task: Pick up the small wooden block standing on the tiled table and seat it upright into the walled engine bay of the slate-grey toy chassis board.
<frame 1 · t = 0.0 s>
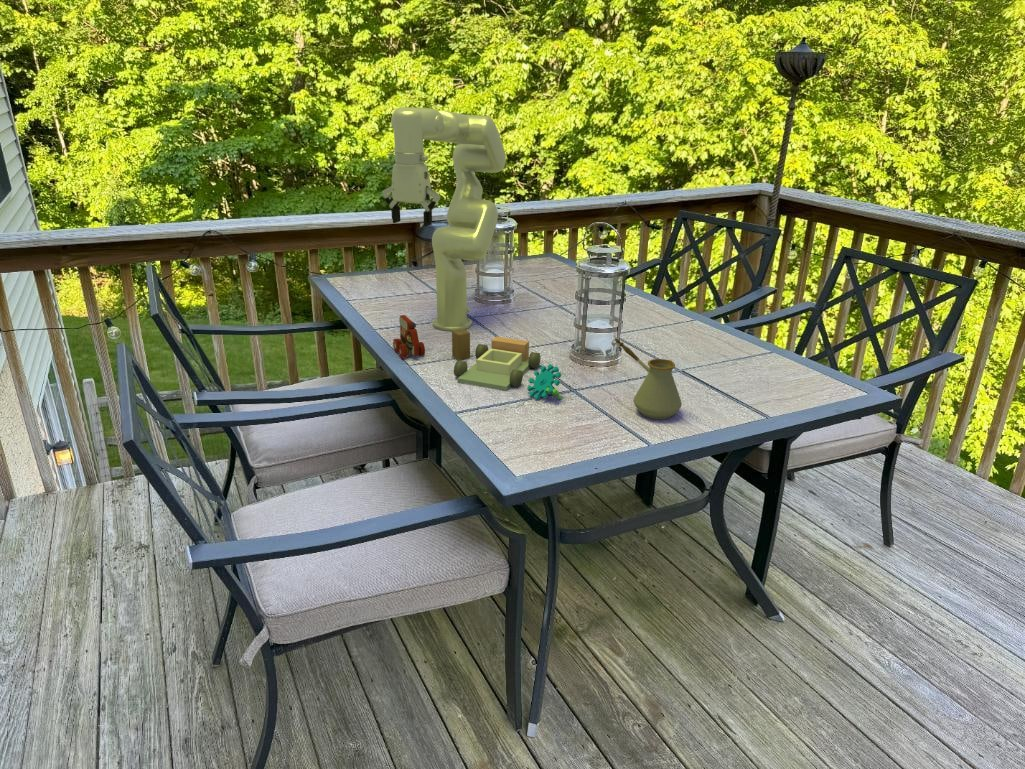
hand: (412, 223, 202), 37 cm above the table, tool pointing down, fingers open, 9 cm apart
wooden block: (461, 358, 211), on the table
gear: (544, 396, 187), on the table
toy fire truck: (409, 354, 213), on the table
chassis: (498, 372, 201), on the table
coffee pot: (641, 406, 182), on the table
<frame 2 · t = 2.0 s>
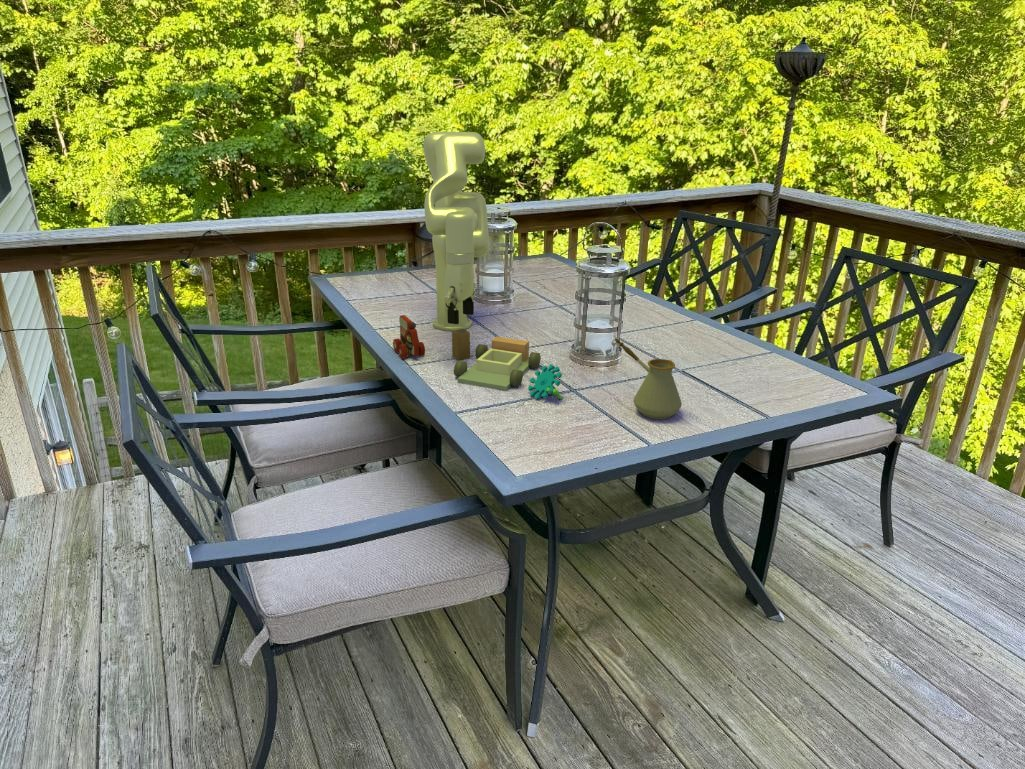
hand: (460, 319, 205), 12 cm above the table, tool pointing down, fingers open, 9 cm apart
nothing on the table moved.
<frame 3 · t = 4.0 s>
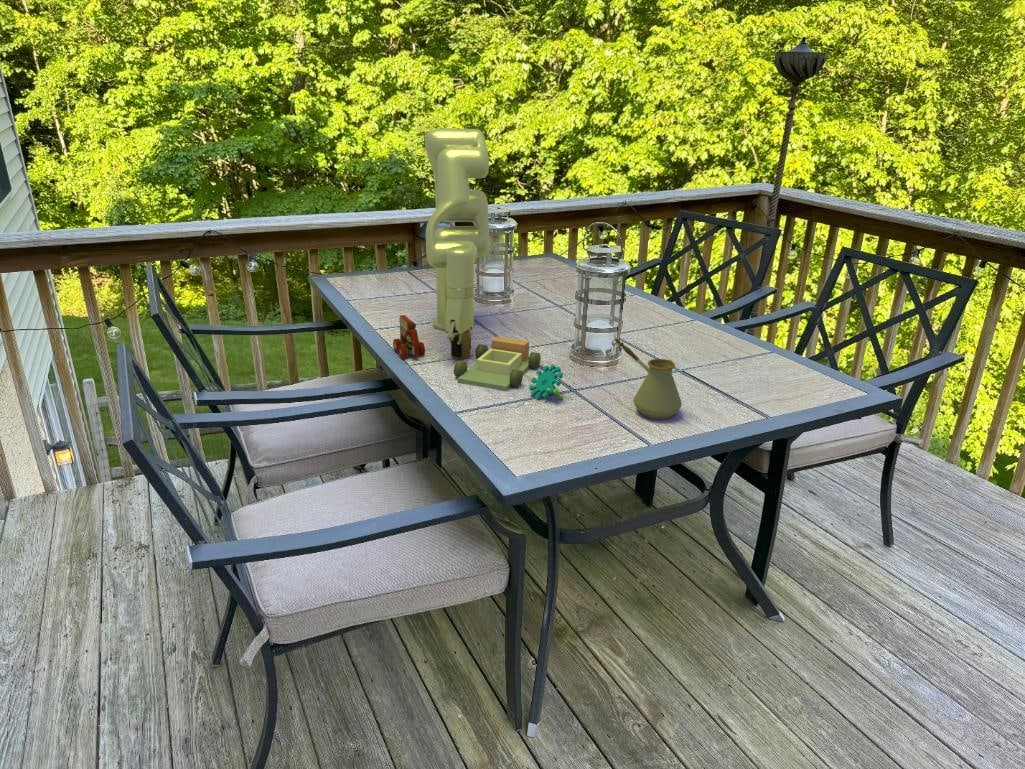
hand: (461, 352, 210), 1 cm above the table, tool pointing down, fingers closed on wooden block, 5 cm apart
wooden block: (461, 358, 211), on the table, touching gripper
everything else where it was.
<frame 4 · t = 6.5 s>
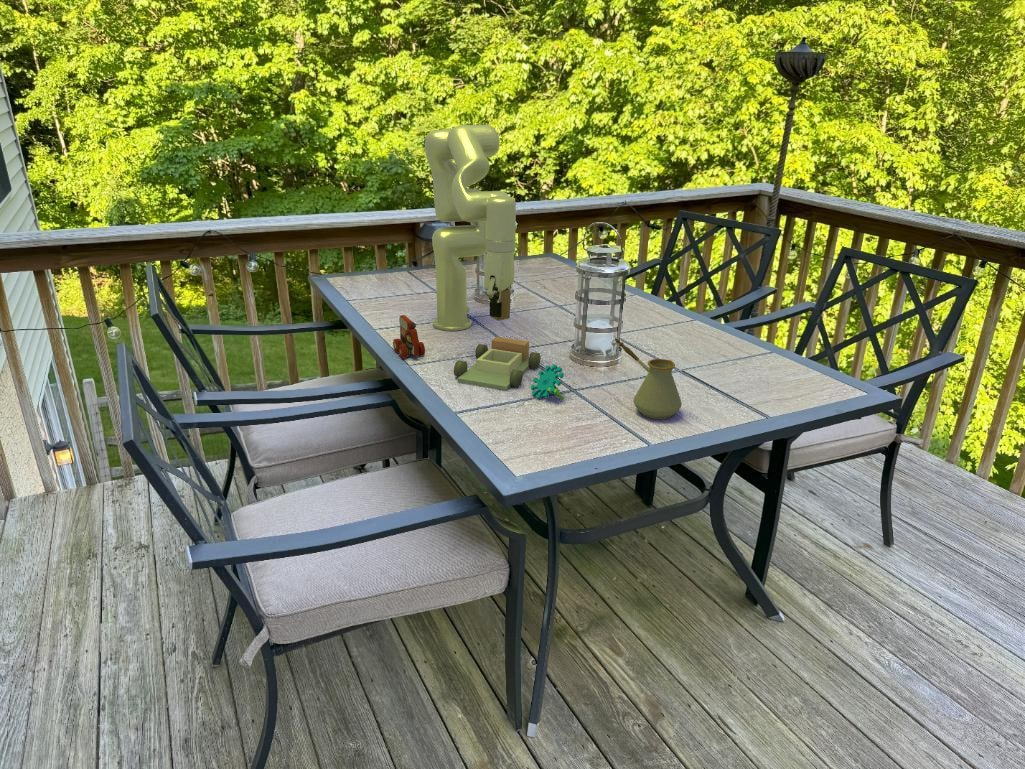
hand: (499, 312, 195), 17 cm above the table, tool pointing down, fingers closed on wooden block, 5 cm apart
wooden block: (499, 318, 196), point 15 cm above the table, touching gripper
everything else where it was.
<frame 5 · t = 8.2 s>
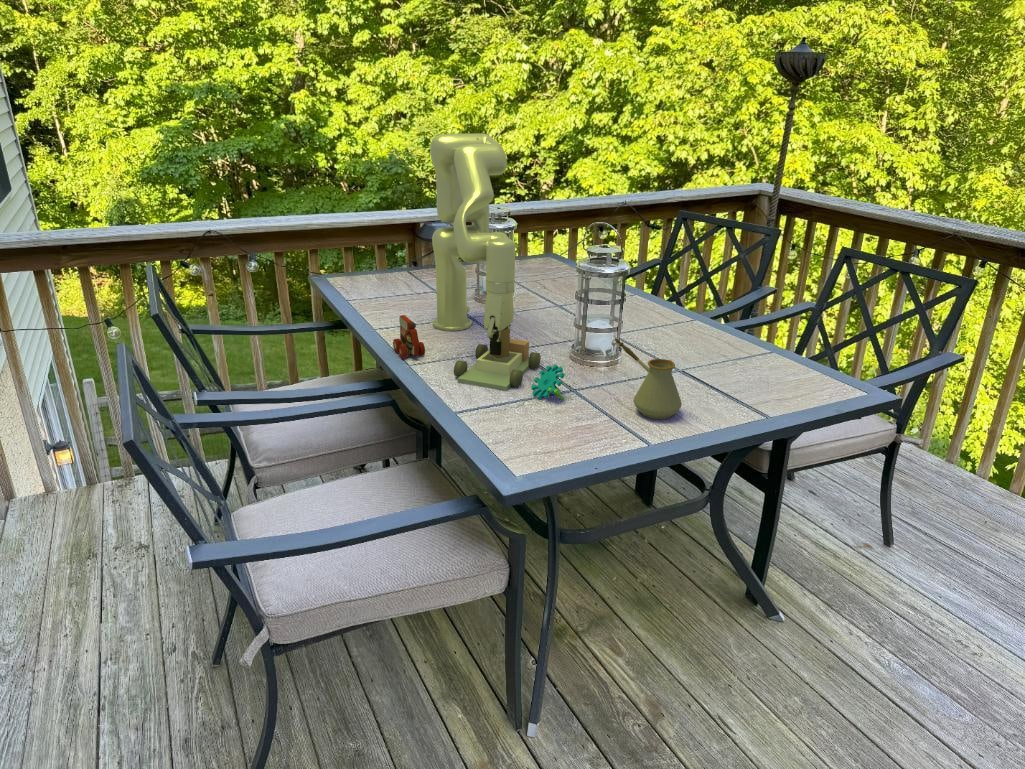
hand: (499, 350, 199), 6 cm above the table, tool pointing down, fingers closed on wooden block, 5 cm apart
wooden block: (499, 356, 200), point 4 cm above the table, touching gripper
everything else where it was.
when the fingers open (4 cm above the table, at t = 9.4 s): wooden block drops 2 cm, resting on chassis.
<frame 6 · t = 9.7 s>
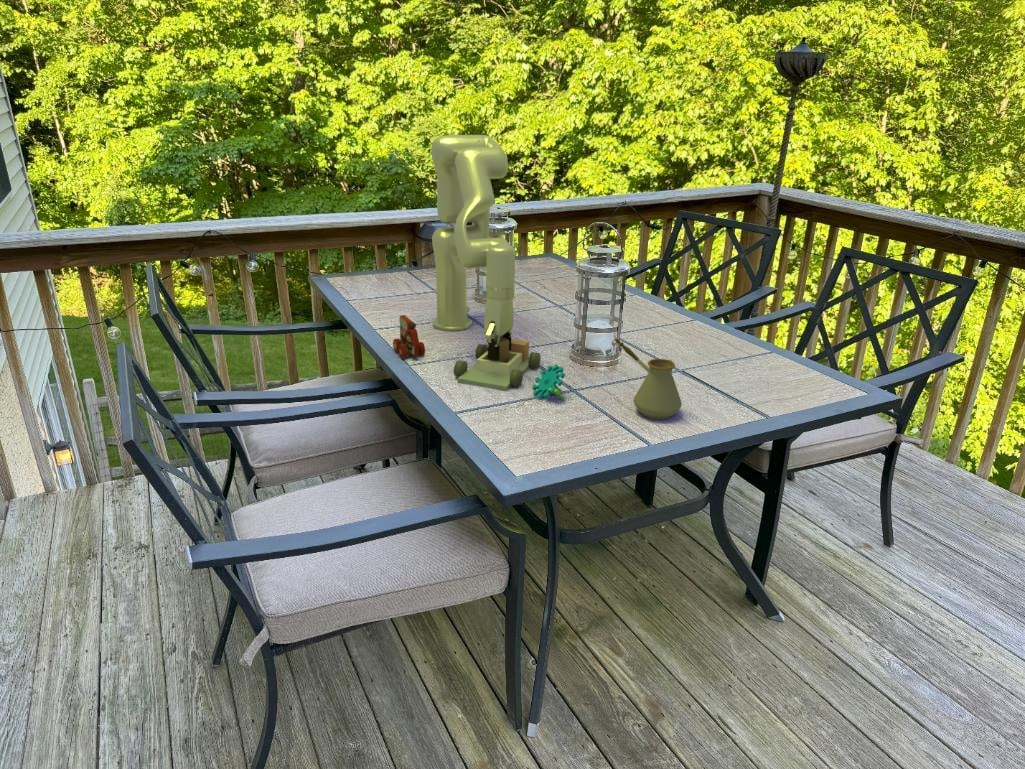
hand: (499, 354, 200), 5 cm above the table, tool pointing down, fingers open, 7 cm apart
wooden block: (499, 366, 202), point 1 cm above the table, touching chassis
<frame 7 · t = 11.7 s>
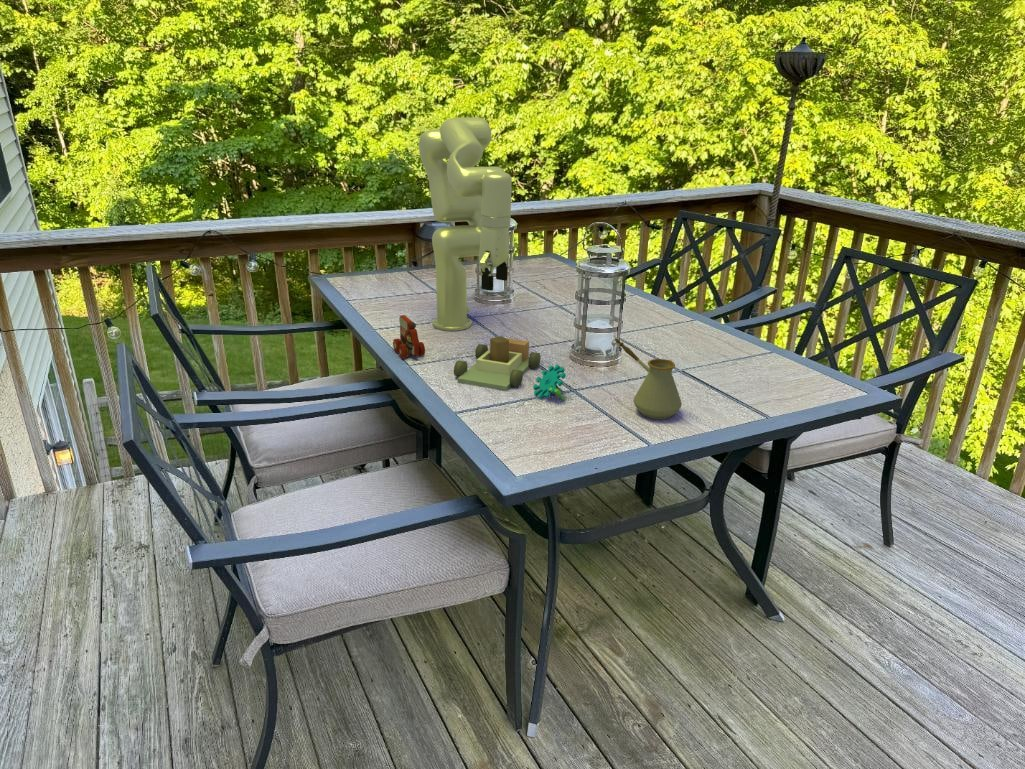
hand: (494, 284, 198), 23 cm above the table, tool pointing down, fingers open, 9 cm apart
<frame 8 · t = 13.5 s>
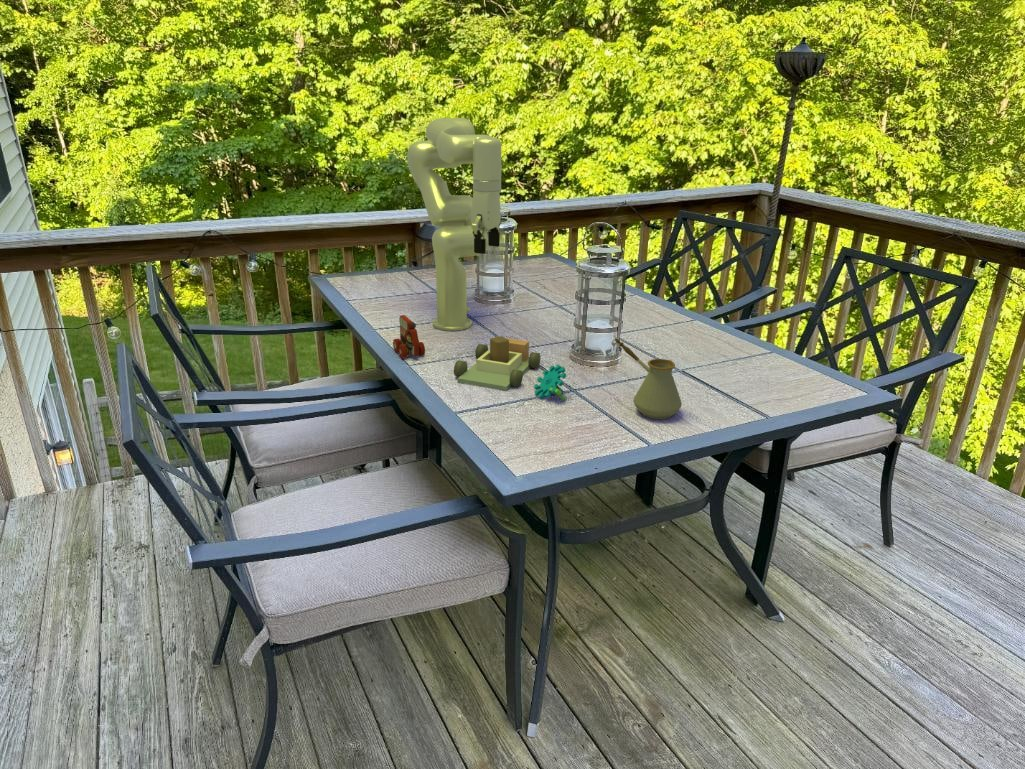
hand: (487, 249, 203), 30 cm above the table, tool pointing down, fingers open, 9 cm apart
at the end: wooden block inside the target area on the chassis (0.4 cm from its centre), point 1.0 cm above the chassis's base; wooden block tilted 0°; the gripper is holding nothing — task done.
